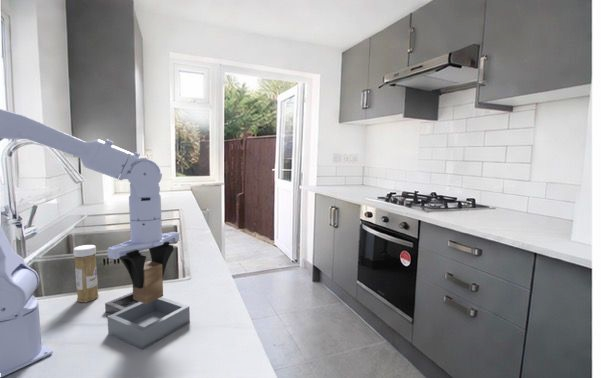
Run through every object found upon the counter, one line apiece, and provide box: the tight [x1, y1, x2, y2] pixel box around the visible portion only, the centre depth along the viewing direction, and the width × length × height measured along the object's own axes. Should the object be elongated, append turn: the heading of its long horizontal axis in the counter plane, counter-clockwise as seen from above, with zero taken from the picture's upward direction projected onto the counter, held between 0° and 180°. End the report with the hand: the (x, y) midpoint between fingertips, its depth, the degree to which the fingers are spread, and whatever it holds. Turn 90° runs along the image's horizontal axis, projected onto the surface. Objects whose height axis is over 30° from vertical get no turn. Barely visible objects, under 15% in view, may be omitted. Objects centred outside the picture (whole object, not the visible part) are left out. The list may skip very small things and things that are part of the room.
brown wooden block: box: [132, 260, 164, 304], centre depth 63 cm, size 4×4×7 cm
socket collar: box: [104, 291, 139, 315], centre depth 72 cm, size 7×7×2 cm
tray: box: [107, 296, 191, 350], centre depth 64 cm, size 11×11×4 cm
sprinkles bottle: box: [72, 244, 100, 303], centre depth 76 cm, size 5×5×13 cm
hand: (148, 283), depth 63 cm, fingers closed on brown wooden block, 4 cm apart
